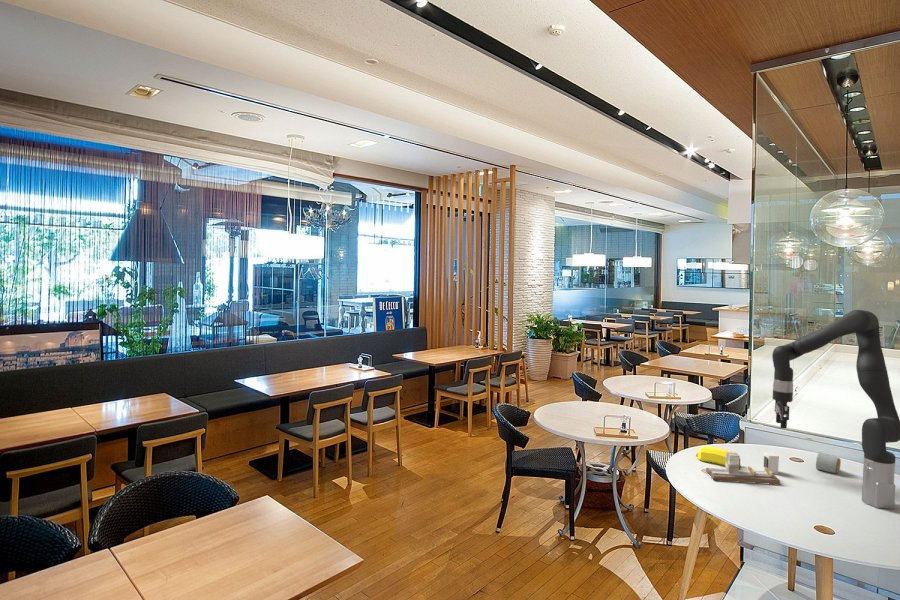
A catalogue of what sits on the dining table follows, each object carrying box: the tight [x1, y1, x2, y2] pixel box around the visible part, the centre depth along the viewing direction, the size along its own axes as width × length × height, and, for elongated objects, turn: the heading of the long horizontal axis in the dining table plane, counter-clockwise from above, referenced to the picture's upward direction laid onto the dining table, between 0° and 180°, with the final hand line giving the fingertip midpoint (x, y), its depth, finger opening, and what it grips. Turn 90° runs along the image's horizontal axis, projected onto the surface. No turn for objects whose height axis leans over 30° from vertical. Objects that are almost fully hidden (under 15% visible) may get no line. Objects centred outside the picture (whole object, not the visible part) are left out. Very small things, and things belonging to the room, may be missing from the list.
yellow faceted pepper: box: [695, 445, 733, 467], centre depth 238 cm, size 18×7×8 cm
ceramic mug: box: [815, 452, 842, 474], centre depth 230 cm, size 11×8×8 cm
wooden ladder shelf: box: [705, 451, 781, 485], centre depth 220 cm, size 9×26×11 cm, turn 81°
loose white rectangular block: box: [763, 451, 780, 475], centre depth 228 cm, size 4×4×8 cm
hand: (781, 425), depth 229 cm, fingers open, 8 cm apart
